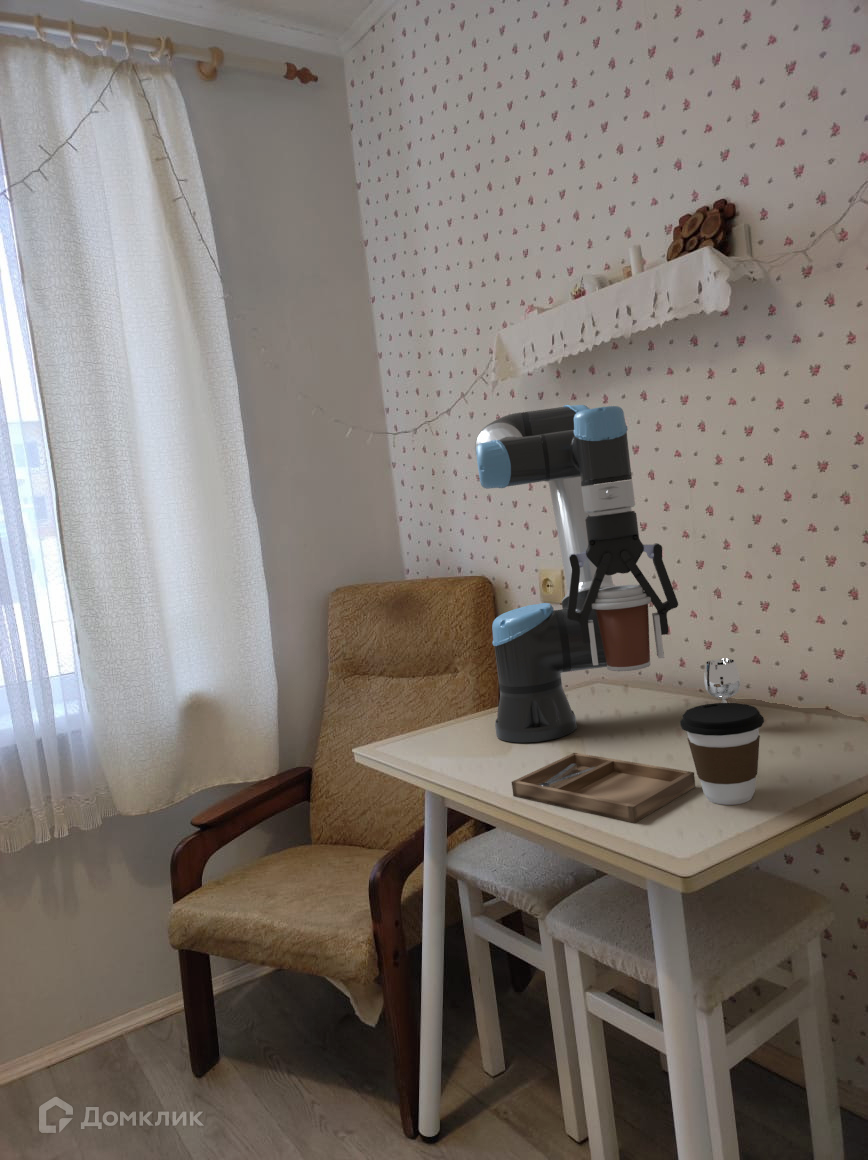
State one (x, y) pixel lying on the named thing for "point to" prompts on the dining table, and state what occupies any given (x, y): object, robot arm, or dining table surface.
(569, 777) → the steel tongs
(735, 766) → the coffee cup
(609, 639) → the coffee cup
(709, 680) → the wineglass
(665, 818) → the dining table surface
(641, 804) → the walnut caddy
